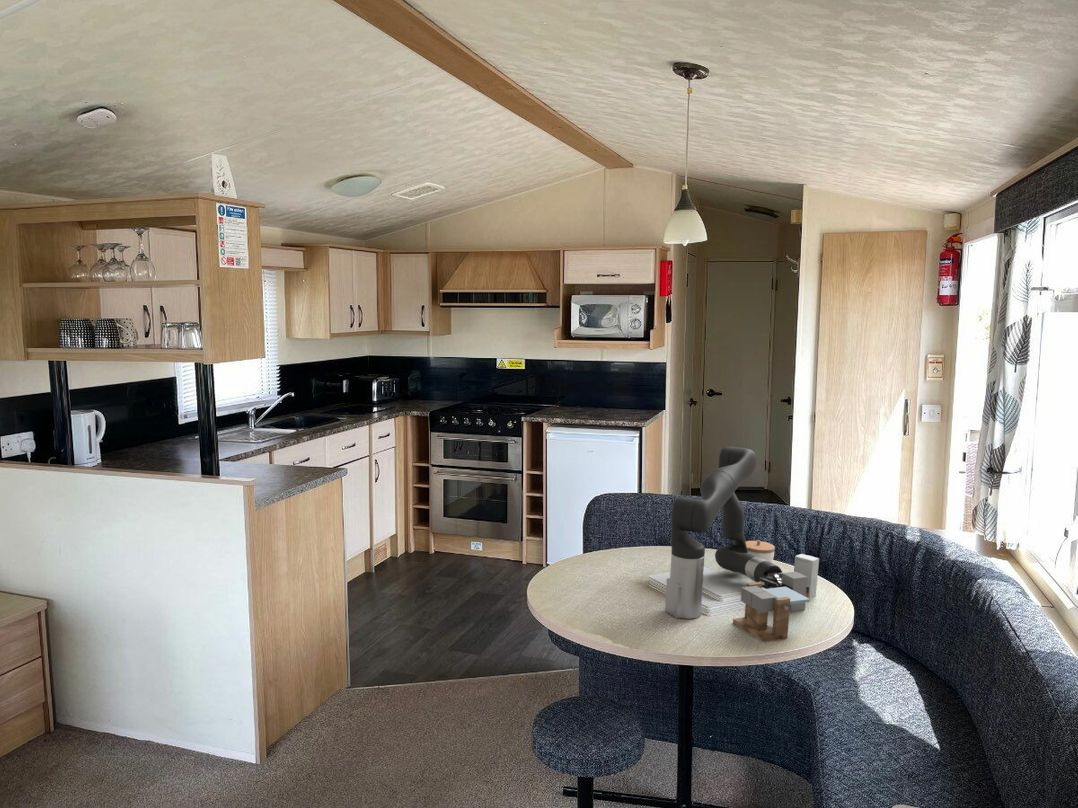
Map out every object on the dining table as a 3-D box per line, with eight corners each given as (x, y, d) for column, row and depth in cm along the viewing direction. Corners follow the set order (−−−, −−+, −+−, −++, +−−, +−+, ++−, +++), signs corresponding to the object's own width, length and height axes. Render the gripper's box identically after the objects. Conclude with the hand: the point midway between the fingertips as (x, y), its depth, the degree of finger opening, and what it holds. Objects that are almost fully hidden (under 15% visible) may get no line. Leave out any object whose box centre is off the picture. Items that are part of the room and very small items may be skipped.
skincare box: (791, 593, 251) (794, 555, 250) (798, 590, 254) (801, 553, 253) (809, 599, 247) (813, 560, 245) (816, 595, 250) (819, 558, 248)
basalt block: (791, 612, 236) (793, 578, 234) (779, 605, 240) (782, 573, 239) (804, 610, 238) (807, 576, 236) (793, 603, 242) (796, 571, 241)
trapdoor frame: (790, 640, 216) (793, 600, 214) (766, 643, 213) (769, 603, 211) (753, 618, 230) (756, 580, 229) (730, 621, 227) (732, 583, 226)
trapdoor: (809, 607, 220) (810, 593, 220) (762, 613, 215) (763, 599, 214) (784, 594, 230) (785, 581, 229) (739, 600, 224) (740, 586, 223)
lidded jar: (774, 574, 269) (776, 546, 268) (741, 570, 271) (743, 543, 270) (772, 564, 279) (774, 537, 278) (739, 561, 281) (741, 534, 280)
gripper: (744, 562, 248) (780, 581, 233) (783, 558, 254) (820, 576, 238) (742, 586, 249) (778, 606, 234) (781, 581, 255) (818, 601, 239)
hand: (799, 591), depth 236 cm, fingers closed on basalt block, 5 cm apart
